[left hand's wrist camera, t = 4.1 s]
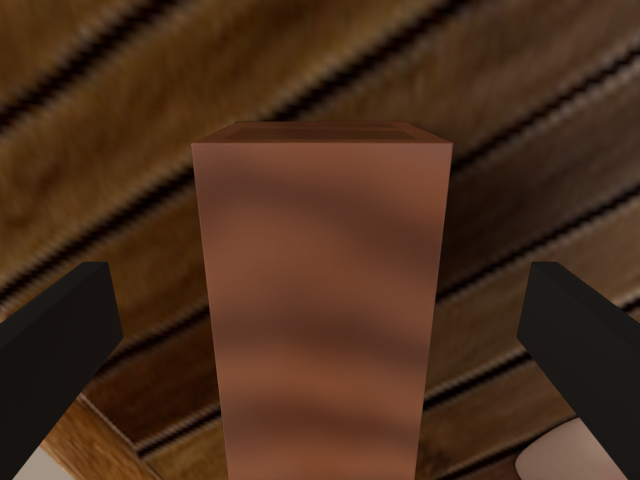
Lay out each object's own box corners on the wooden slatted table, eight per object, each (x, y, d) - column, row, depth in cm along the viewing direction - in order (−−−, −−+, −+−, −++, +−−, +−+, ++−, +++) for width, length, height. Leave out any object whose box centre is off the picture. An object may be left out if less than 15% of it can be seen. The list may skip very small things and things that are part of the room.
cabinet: (387, 371, 31) (414, 485, 23) (254, 371, 31) (229, 484, 23) (406, 121, 25) (454, 142, 16) (237, 121, 25) (190, 142, 16)
